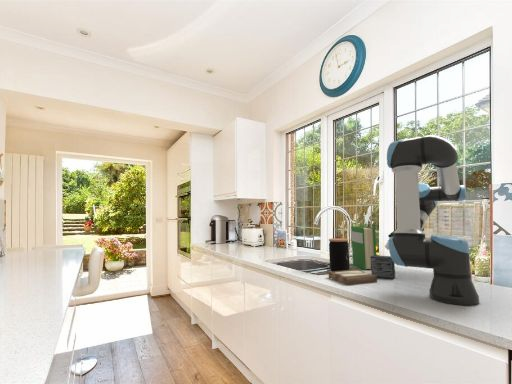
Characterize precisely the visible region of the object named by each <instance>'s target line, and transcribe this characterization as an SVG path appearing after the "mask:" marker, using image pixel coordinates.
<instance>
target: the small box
mask: <svg viewBox="0 0 512 384" xmlns="http://www.w3.org/2000/svg"><path fill="white" fill-rule="evenodd" d="M370 258H371V269H370V271H371V272H370V274H373V275H376V276H377V279H387V280H395V278H396V270H395V269H396V268H395V267H396V266H395V265H396V264H395V263H394V262H393V261H392V258H391V256H390V255H376V256H375V255H372V256H371V257H370Z"/></svg>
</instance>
